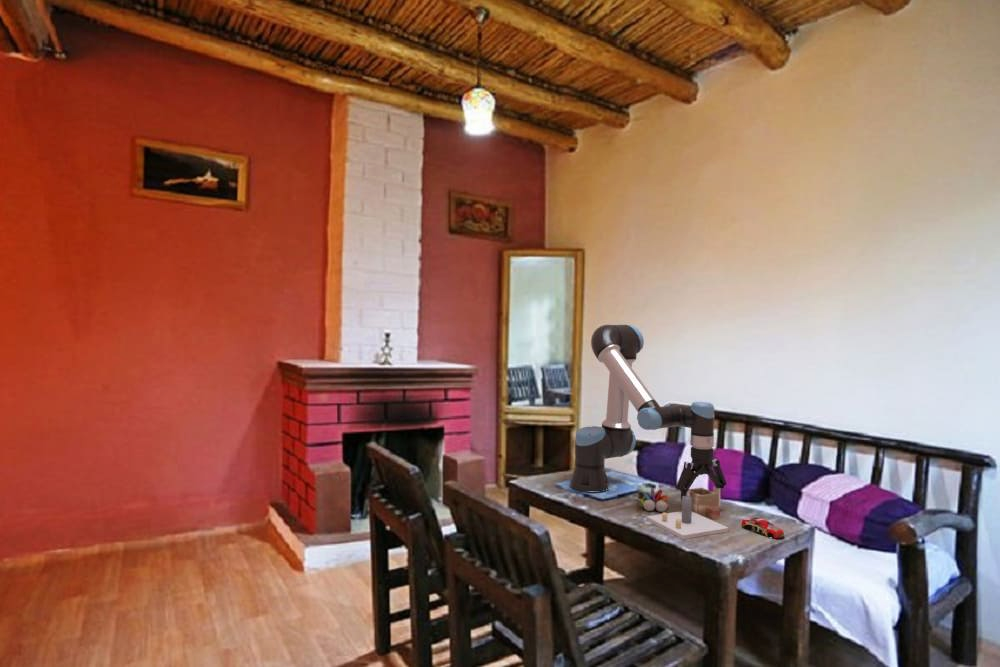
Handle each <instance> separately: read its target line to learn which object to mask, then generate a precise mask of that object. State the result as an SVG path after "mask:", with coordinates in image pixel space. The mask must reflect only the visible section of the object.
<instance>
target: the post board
mask: <svg viewBox="0 0 1000 667" xmlns="http://www.w3.org/2000/svg"><path fill="white" fill-rule="evenodd" d="M645 518H646V521H647V522H649V523H651V524H653V525H655V526H657V527H659V528H660V529H662V530H664V531H666V532H668V533H670V534H672V535H674V536H676V537H678V538H679V539H681V540H688V539H693V538H699V537H706V536H711V535H717V534H722V533H729V532H730V528H729V527H728V526H725V525H724V524H721V523H719V522H716V521H714V520H713V519H711V518H709V517H706V516H704V517H703V516H701V515H699V514H697V513H694V512H692V497H689V496H682V500H681V511H675V512H674V511H673V512H669V513H667V512H666V511H665V512H661V513H660V514H654V515H647V516H646V517H645Z"/></svg>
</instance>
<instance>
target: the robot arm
mask: <svg viewBox="0 0 1000 667" xmlns="http://www.w3.org/2000/svg"><path fill="white" fill-rule="evenodd" d="M590 339H591V340H590V346H591V350H592V352H593V354H594V356H595V358H596V359H597V360H598V362H599V363H603V365H604V366H605V367H606V369H607V370H608V372H609V375H608V377H609V378H608V389H607V390H608V391H607V401H606V404H607V405H606V414H605V419H604V420H603V421H602V423H601V426H596V425H592V426H584V427H581V428H578V430H576V432H575V439H574V468H573V472H572V474H571V478H570V480H569V483H570V484H569V486H570V488H571V489H573V491H577V490H579V491H578V492H582V491H603V490H606V489H608V488H609V489H610V486H609V484H610V482H609V479H608V476H607V473H606V470H605V462H606V461H605V460H607V459H612V458H613V459H614V458H622V457H625V456H627V455H630V454H631V453H632V452H633V450H634V449H635V446H636V442H637V438H636V434H635V432H634V430H633V429H632V425H631V424H630V423H629V421H628V418H629V406H630V403H631V404H632V406H633V407H634V409H635V410H636V411H637V416H636V419H637V424H638V425H639V427H640V428H641V429H642V430H646V431H650V430H651V431H652V430H653V431H655V430H658V429H659V430H660V429H667V428H668V429H669V428H674V427H675V428H676V427H682V428H689V429H690V446H691V447H690V458H691V462H688V461H684V462H683V468H682V471H681V474H680V476H679V478H678V481H677V483H676V485H675V489H676V490H678V491H680V500H681V501H682V496H689V495H690V492H687V491H688V490H689V489H691V487H692V485H693V483H694V482H695V480H697V477H699V476H702V475H707V476H708V477H709V479H710V480H711V482H712V483H713V485H714V486H713V487H712V492H715V493H717V494H719V498H718V508H721V497H722V496H723V495H722V489H724V488H725V486H727V481H726V478H725V475H724V474H723V470H722V468H721V462H720V460H718V459H717V458H716V459H715V457H714V454H715V449H714V446H715V444H714V443H715V433H714V430H715V417H716V416H715V407H714V404H713V403H711V402H706V401H694V402H692V403H691V406H689V405H688V406H687V405H682V404H677V403H666V404H665V405H664V406H660V404H659V403H658V402H657V401H656V399H655V398H654V396H653V395H652V393H651V392H650V391H649V390H648V387H646V386H645V384H644V383H643V381H642V380H641V379H640V377H639V376H638V374H637V373H636V372H635V370H634V369H633V367H632V366H633V363H634V362H635V361H637V354H638V353H640V352H641V350H643V349H644V344H645V343H644V341H645V340H644V336H643V334H642V332H641V331H640V329H639V328H638V327H636V326H634V325H629V324H603V325H600V326H599V327H598V328H596V329H595V330H594V331H593V333H592V335H591V338H590ZM712 468H713V469H712ZM609 489H608V490H609ZM606 491H607V490H606ZM603 492H604V491H603Z"/></svg>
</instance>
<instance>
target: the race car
mask: <svg viewBox="0 0 1000 667" xmlns="http://www.w3.org/2000/svg"><path fill="white" fill-rule="evenodd" d="M741 527H742V528H743V529H745V530H746V531H749V532H750V531H751V532H753V533H756V534H758V535H761V536H764V537H768V538H769V537H772V538H774V539H776V538H779V539H783V538H785V532H784V531H783V529H781V528H779V527H777V526H775V525H774V523H772V522H770V521H769V520H766V519H764V518H760V517H745V518H743V519H742V521H741ZM772 538H771V539H772Z"/></svg>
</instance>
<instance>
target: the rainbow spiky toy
mask: <svg viewBox="0 0 1000 667" xmlns="http://www.w3.org/2000/svg"><path fill="white" fill-rule="evenodd" d="M642 494H643V498H642V499H641V500H640V504H641V505H642V506H643V508H644V509H645V511H647V512H653V511H654V510H655V509H656V511H657V512H660V513H663V512H665V513H666V511H667V510H668V508H670V504H669V503H668V502H667V500H668V499H669V495H668V494H664V495H662V494H663V490H662V489H658V490H657V492H656V494H655V489H654V488H653V487H652V488H650V494H651V495H650V494H649V493H648V492H646V491H643V493H642Z"/></svg>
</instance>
